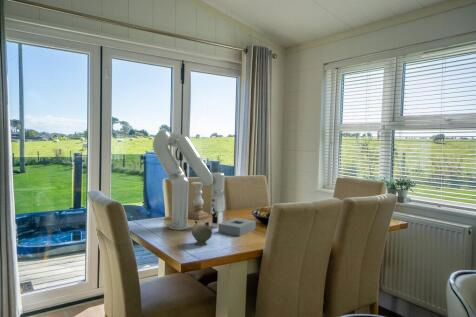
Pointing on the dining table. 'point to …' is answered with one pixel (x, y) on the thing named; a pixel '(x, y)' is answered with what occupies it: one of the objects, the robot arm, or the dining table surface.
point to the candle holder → (198, 204)
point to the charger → (218, 220)
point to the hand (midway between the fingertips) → (217, 222)
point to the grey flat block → (237, 226)
